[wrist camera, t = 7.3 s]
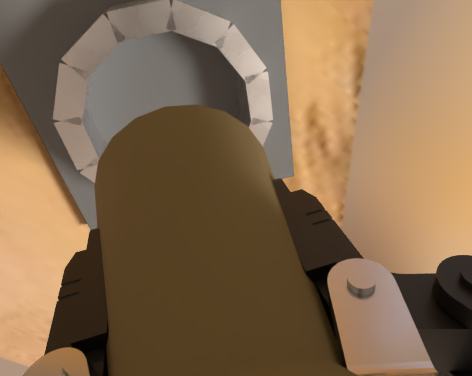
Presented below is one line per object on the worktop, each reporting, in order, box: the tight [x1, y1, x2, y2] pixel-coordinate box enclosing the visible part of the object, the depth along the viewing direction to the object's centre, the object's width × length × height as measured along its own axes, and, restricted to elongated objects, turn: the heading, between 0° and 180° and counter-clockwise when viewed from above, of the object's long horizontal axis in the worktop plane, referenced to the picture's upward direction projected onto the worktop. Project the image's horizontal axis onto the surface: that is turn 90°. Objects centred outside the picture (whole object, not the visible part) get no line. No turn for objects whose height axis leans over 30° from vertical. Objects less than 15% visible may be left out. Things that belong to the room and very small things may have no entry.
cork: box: [94, 104, 358, 376], centre depth 8 cm, size 6×6×11 cm
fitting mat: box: [0, 0, 294, 230], centre depth 19 cm, size 14×14×1 cm
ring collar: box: [53, 0, 273, 183], centre depth 18 cm, size 10×10×2 cm
